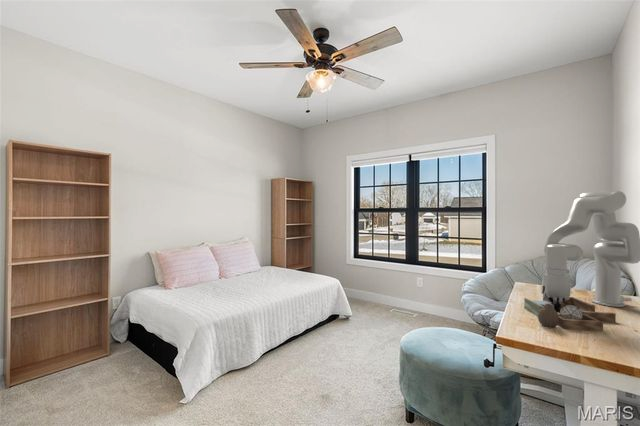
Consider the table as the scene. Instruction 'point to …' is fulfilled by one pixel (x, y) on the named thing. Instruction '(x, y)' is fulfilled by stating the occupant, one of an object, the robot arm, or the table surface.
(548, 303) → the slate block
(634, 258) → the robot arm
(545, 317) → the vase
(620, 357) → the table surface
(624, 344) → the table surface
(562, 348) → the table surface
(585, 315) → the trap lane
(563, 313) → the game die
